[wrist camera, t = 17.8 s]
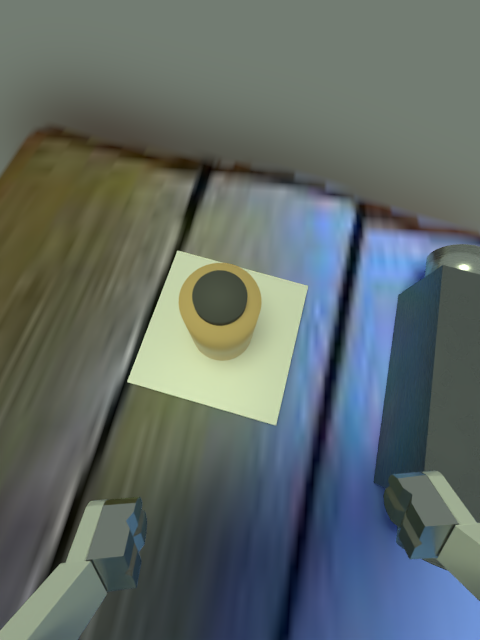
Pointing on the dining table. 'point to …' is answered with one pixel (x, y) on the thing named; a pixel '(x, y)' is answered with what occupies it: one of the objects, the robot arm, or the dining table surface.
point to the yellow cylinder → (220, 309)
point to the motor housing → (436, 379)
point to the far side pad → (230, 375)
